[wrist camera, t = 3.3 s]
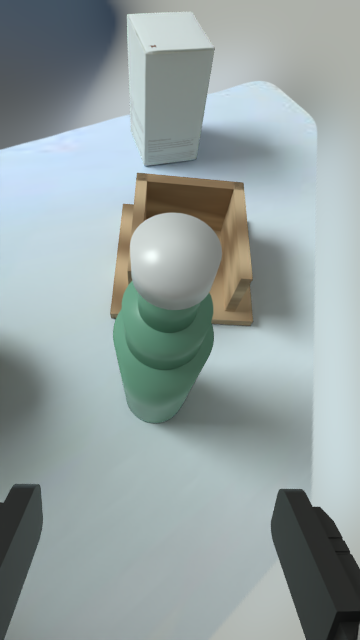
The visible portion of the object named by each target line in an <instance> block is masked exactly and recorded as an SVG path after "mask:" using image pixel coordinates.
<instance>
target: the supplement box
mask: <svg viewBox="0 0 360 640" xmlns="http://www.w3.org/2000/svg"><path fill="white" fill-rule="evenodd" d="M127 35H128V36H127V38H128V63H129V64H128V65H129V90H130V122H131V132H132V135H133V138H134V140H135V143H136V146H137V148H138V151H139V153H140V156H141V159H142V161H143V164H144V166H149V165H157V164H166V163H174V162H181V161H189V160H194V159H196V158H197V153H198V147H199V141H200V135H201V129H202V122H203V116H204V110H205V104H206V98H207V91H208V86H209V79H210V74H211V67H212V62H213V55H214V50H215V48H214V46H213V44H212V43H211V41H210V40H209V38H208V37H207V35H206V33H205V32H204V30H203V28H202V27H201V25H200V24H199V22H198V21H197V19H196V17H195V16H194V14H193V12H165V13H144V14H128V15H127Z"/></svg>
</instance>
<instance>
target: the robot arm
mask: <svg viewBox="0 0 360 640" xmlns="http://www.w3.org/2000/svg"><path fill="white" fill-rule="evenodd" d="M42 524H43V514H42V500H41V488H40V485H39V484H15V485H13V487H12V488H11V490H10V492H9V494H8V496H7V498H6V500H5V502H4V503H0V640H4V638H5V635H6V632H7V629H8V626H9V624H10V621H11V618H12V615H13V612H14V610H15V607H16V604H17V601H18V598H19V595H20V593H21V590H22V587H23V584H24V581H25V579H26V576H27V573H28V570H29V567H30V564H31V562H32V559H33V556H34V553H35V550H36V548H37V545H38V542H39V539H40V535H41V530H42ZM271 533H272V539H273V542H274V545H275V548H276V551H277V554H278V557H279V560H280V563H281V566H282V569H283V572H284V575H285V578H286V581H287V584H288V587H289V589H290V593H291V596H292V599H293V602H294V605H295V608H296V611H297V614H298V617H299V620H300V623H301V626H302V629H303V632H304V634H305V637H306V640H360V569H359V567H358V565H357V563H356V561H355V560H354V558H353V556H352V555H351V554H350V551H349V548H348V547H347V545H346V543H345V541H343V539H342V536H341V534H340V532H339V531H338V528H337V527H336V525H335V523H334V521H333V520H332V519H331V518H330V517H329V516H328V515H327V514H326V513H325V512H324V511H323V510H322V509H321V508H320V507H312V505H311V503H310V501H309V499H308V497H307V495H306V493H305V492H304V491H303V490H302V489H280V490H279V491H278V495H277V499H276V503H275V507H274V511H273V516H272V520H271Z"/></svg>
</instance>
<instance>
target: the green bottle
mask: <svg viewBox="0 0 360 640" xmlns="http://www.w3.org/2000/svg"><path fill="white" fill-rule="evenodd" d="M130 258H131V275H132V281H131V283H130V284H129V285H128V287H127V288H126V290H125V292H124V295H123V298H122V309H121V311H120V312H119V314H118V316H117V318H116V320H115V324H114V329H113V340H114V346H115V350H116V355H117V359H118V364H119V368H120V373H121V377H122V381H123V386H124V390H125V395H126V399H127V403H128V406H129V408H130V410H131V411H132V413H133V414H134V415H135V416H136V417H138V418H139V419H141V420H143V421H145V422H149V423H161V422H164V421H167V420H169V419H171V418H172V417H173V416H174V415H175V414H176V413H177V412H178V411H179V409H180V408H181V406H182V404H183V402H184V401H185V399H186V397H187V395H188V393H189V391H190V390H191V388H192V386H193V384H194V382H195V381H196V379H197V377H198V375H199V373H200V372H201V370H202V368H203V366H204V364H205V363H206V361H207V359H208V357H209V355H210V353H211V350H212V347H213V341H214V332H213V326H212V323H211V321H212V318H213V301H212V297H211V295H210V293H209V292H210V290H211V287H212V285H213V282H214V279H215V276H216V274H217V271H218V268H219V265H220V262H221V258H222V248H221V243H220V241H219V238H218V236H217V235H216V233H215V232H214V231H213V230H212V229H211V227H209V226H208V225H207V224H206V223H204V222H203V221H201V220H200V219H198V218H196V217H193V216H190V215H187V214H182V213H163V214H159V215H155V216H153V217H151V218H149V219H147V220H145V221H144V222H143V223H141V224H140V225H139V226H138V227H137V229H136V230H135V232H134V233H133V235H132V238H131V242H130Z"/></svg>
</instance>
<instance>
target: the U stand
mask: <svg viewBox="0 0 360 640" xmlns="http://www.w3.org/2000/svg"><path fill="white" fill-rule="evenodd" d="M163 213H182V214H187V215H190V216H193V217H196V218H198V219H200V220H201V221H203V222H204V223H206V224H207V225H208V226H209V227H211V229H212V230H213V231H214V232H215V233H216V235H217V236H218V238H219V241H220V243H221V248H222V258H221V262H220V265H219V268H218V271H217V274H216V276H215V279H214V282H213V285H212V287H211V290H210V292H209V293H210V295H211V297H212V301H213V318H212V321H211V323H212V324H227V325H245V326H250V325H251V324H252V322H253V316H252V305H251V294H250V283H251V282H252V280H253V277H252V267H251V257H250V246H249V236H248V226H247V215H246V205H245V195H244V184H243V183H241V182H230V181H220V180H209V179H198V178H188V177H177V176H166V175H156V174H145V173H137V178H136V188H135V199H134V205H132V204H123V209H122V218H121V226H120V235H119V243H118V252H117V260H116V269H115V278H114V286H113V295H112V303H111V312H110V315H111V318H117V316H118V314H119V312H120V311H121V309H122V298H123V295H124V292H125V290H126V288H127V287H128V285H129V284H130V283H131V281H132V275H131V258H130V242H131V238H132V235H133V233H134V232H135V230H136V229H137V227H138V226H139V225H140V224H141V223H143V222H144V221H145V220H147V219H149V218H151V217H153V216H155V215H159V214H163Z"/></svg>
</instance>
